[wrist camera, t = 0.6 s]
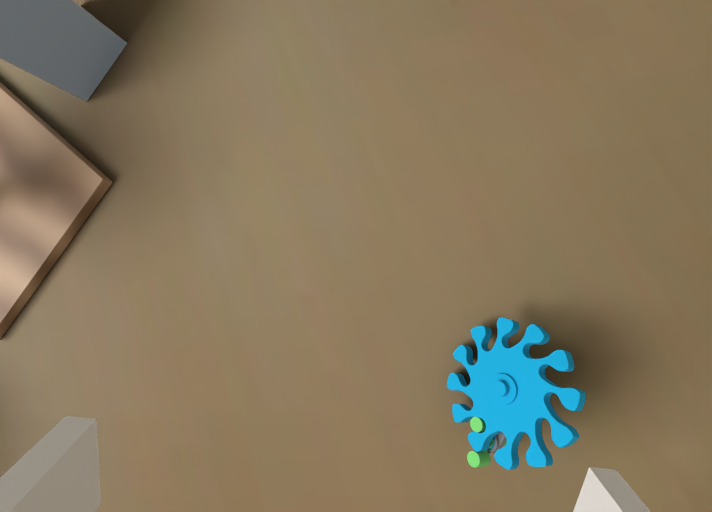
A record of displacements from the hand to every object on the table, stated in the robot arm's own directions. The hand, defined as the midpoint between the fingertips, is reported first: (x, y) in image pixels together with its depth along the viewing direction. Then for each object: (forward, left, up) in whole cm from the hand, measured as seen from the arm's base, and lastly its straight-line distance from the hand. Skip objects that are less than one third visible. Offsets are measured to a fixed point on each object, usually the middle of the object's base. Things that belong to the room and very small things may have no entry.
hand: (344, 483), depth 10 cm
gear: (+2, +8, -23) cm, 24 cm away
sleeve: (-22, -35, -22) cm, 47 cm away
